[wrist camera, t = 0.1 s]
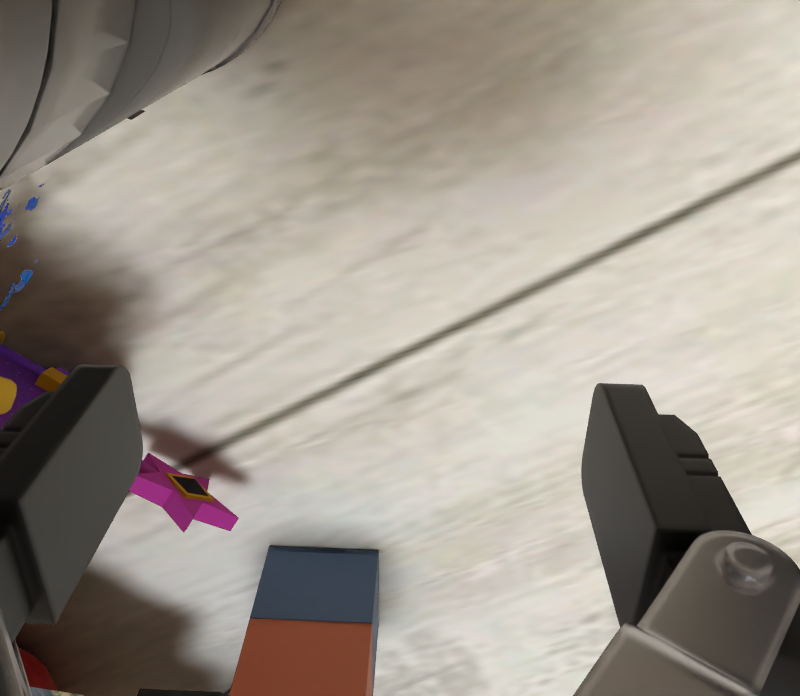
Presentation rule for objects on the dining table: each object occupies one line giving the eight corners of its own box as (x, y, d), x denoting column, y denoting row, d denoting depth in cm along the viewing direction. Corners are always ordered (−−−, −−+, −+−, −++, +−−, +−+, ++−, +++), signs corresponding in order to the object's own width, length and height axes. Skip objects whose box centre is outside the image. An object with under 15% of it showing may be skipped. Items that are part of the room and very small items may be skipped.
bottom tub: (269, 545, 37) (249, 617, 33) (378, 550, 37) (372, 623, 33) (276, 621, 40) (259, 697, 36) (378, 626, 40) (372, 702, 36)
